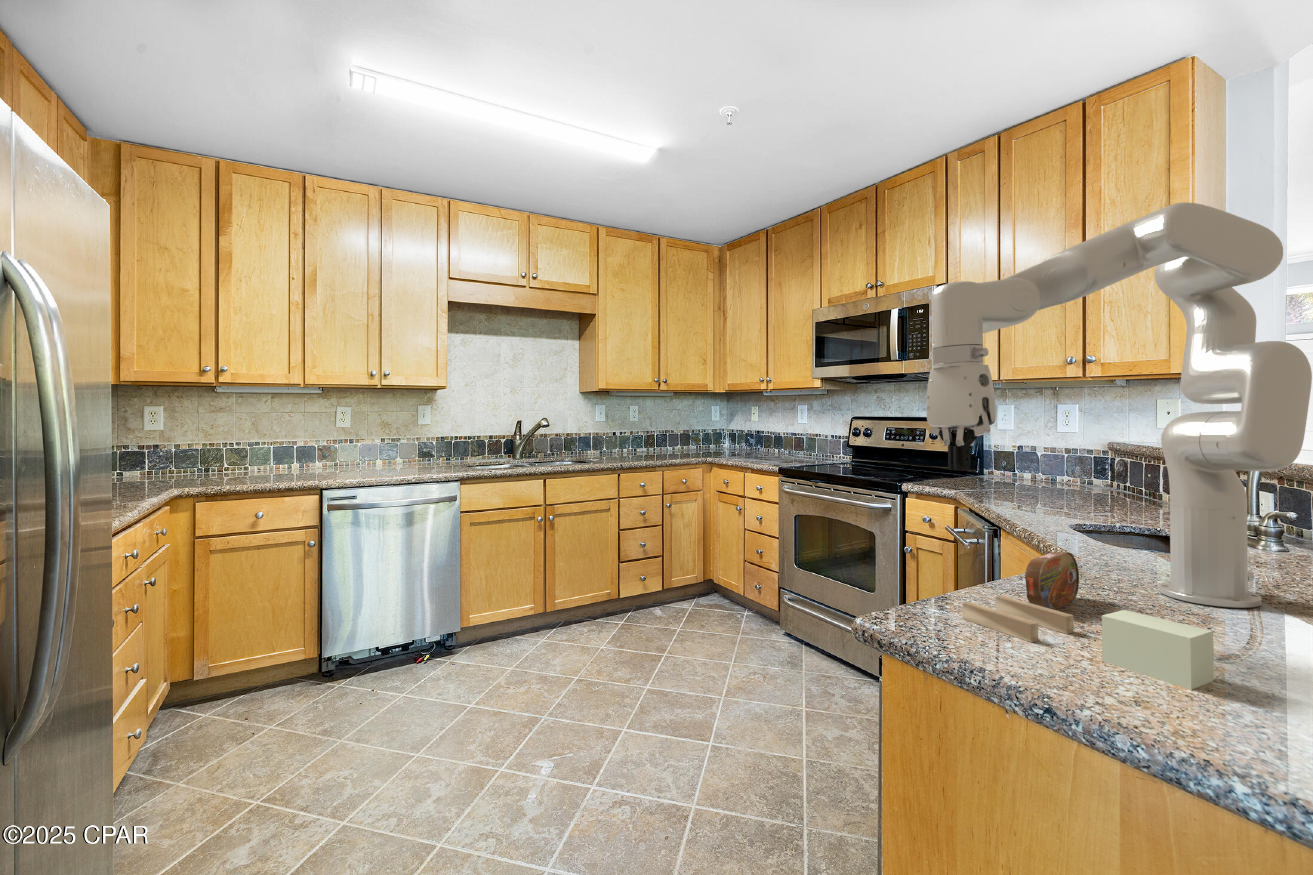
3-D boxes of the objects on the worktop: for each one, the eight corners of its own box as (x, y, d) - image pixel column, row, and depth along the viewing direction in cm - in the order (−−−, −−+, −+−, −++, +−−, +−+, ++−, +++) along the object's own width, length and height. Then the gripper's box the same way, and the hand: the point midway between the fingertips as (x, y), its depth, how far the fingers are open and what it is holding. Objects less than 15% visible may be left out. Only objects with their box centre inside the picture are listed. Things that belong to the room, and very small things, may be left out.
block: (1125, 655, 76) (1124, 609, 76) (1213, 681, 67) (1213, 630, 67) (1102, 662, 74) (1101, 615, 73) (1191, 690, 65) (1190, 638, 65)
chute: (1003, 611, 94) (1002, 595, 94) (1073, 632, 84) (1073, 615, 84) (962, 619, 91) (962, 603, 91) (1031, 642, 80) (1030, 624, 80)
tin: (1043, 616, 91) (1042, 563, 91) (1021, 611, 94) (1020, 559, 94) (1081, 598, 100) (1080, 549, 100) (1060, 594, 102) (1060, 547, 102)
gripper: (1016, 353, 90) (1018, 471, 90) (937, 364, 104) (938, 466, 104) (981, 352, 87) (983, 473, 87) (905, 363, 101) (907, 468, 101)
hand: (959, 469), depth 96 cm, fingers closed
